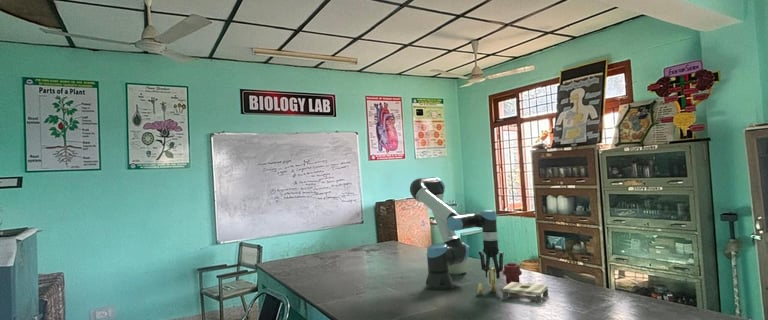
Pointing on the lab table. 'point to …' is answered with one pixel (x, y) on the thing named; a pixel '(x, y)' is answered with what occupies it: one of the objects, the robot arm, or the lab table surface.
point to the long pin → (492, 279)
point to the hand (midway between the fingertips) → (493, 284)
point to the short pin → (480, 289)
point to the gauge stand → (526, 290)
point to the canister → (459, 267)
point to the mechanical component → (512, 272)
